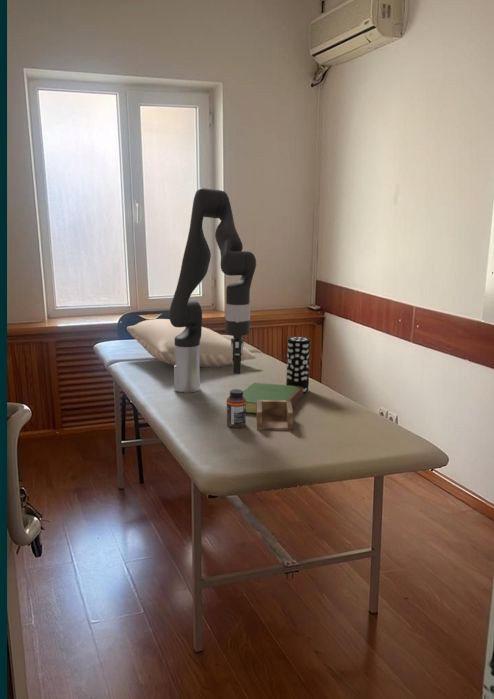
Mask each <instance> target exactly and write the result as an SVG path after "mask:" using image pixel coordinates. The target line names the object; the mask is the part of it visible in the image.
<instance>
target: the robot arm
mask: <svg viewBox="0 0 494 699" xmlns="http://www.w3.org/2000/svg"><path fill="white" fill-rule="evenodd" d="M191 209H192V210H191V215H190V224H189V229H188V230H189V231H188V236H187V240H186V244H185V248H184V253H183V256H182V260H181V265H180V272H179V276H178V280H177V284H176V287H175V288H176V289H175V292H174V293H173V298H172V301H171V304H170V308H169V314H168V315H169V316H168V317H169V319H170V322H171V324H172V325H173V326H174V327H185V330H184V331H183V332H182V333H180V334H179V335H177V336H176V337H175V365H173V382H174V383H173V390H174V392H179V393H183V392H184V393H185V394H187V393H195V392H196V393H197V392H198V391H200V389H201V383H200V380H201V377H200V376H201V373H200V372H201V371H200V370H201V369H200V368H201V367H200V339H201V332H202V327H203V310H202V306H201V304H200V303H199V302H198V301H197V300H190V298H191V295H192V294H193V292H194V291H195V290H196V288H198V286H199V285H200V284H201V283H202V281H203V280H204V279H205V277H206V275H207V274H208V270H209V266H210V263H211V262H210V261H211V258H212V257H211V255H212V254H211V249H210V247H209V243H208V241H207V240H206V237H205V235H204V230H203V221H204V219H205V218H210V219H219V220H220V222H219V223H218V225H217V226H216V229H215V236H214V237H215V241H216V244H217V246H218V249H219V253H220V263H219V264H220V269H221V270H220V271H221V272H222V273H223V274H224V275H226V276H229V277H230V276H231V277H234V276H240V279H239V280H238V281H236V282H232V283H229V284H228V285H227V286H226V288H225V289H226V290H225V293H226V295H225V296H226V297H225V299H226V300H225V303H226V304H225V310H224V311H225V312H224V314H225V316H224V320H225V322H224V323H225V324H224V333H225V334H226V335H228V336H233V338H231V339H230V340H231V347H232V351H231V353H232V355H233V358H232V361H233V364H232V365H233V366H232V367H233V368H232V369H233V370H232V372H233V374H234V375H240V374H241V366H242V362H243V361H242V359H241V355H243V348H244V344H245V339H244V338H243V337H242V336H247V335H249V334H250V333H251V307H250V297H251V296H250V293H251V292H250V291H251V286H252V281H253V278H254V276H255V271H256V267H257V260H256V256H255V255H254V253H252V252H251V251H248V250H247V251H244V250H243V243H242V240H241V237H240V235H239V233H238V231H237V229H236V225H235V220H234V216H233V210H232V207H231V202H230V198H229V196H228V193H227V192H226V191H224V190H221V189H216V188H215V189H213V188H207V187H199V188H198V189H197V190H196V191H195V194H194V197H193V202H192V207H191Z"/></svg>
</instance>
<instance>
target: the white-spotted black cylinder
mask: <svg viewBox="0 0 494 699" xmlns="http://www.w3.org/2000/svg"><path fill="white" fill-rule="evenodd" d="M286 349H287V351H286V383H285V385H289V386H302V387H303V395H307V394H308V393H309V386H310V385H309V384H310V382H309V381H310V362H311V361H310V360H311V359H310V357H311V338H310V337H307V336H290V337H287V348H286Z"/></svg>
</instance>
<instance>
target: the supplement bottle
mask: <svg viewBox="0 0 494 699" xmlns="http://www.w3.org/2000/svg"><path fill="white" fill-rule="evenodd" d="M243 391H244V390H242V389H240V388H239V389H238V388H236V389H235V388H233V389H231V390H229V396H228V397H227V398H226V425H227V426H228V427H230V428H236V429H238V428H239V429H240V428H243V427H245V426H246V423H247V422H246V419H247V417H246V415H247V413H246V399H245V397H243V396H242V395H243Z"/></svg>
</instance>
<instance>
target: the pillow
mask: <svg viewBox="0 0 494 699" xmlns="http://www.w3.org/2000/svg"><path fill="white" fill-rule="evenodd" d="M126 330H127V332H128V333H129V334H130V335H131V336H132V337H133V338H134V339H135V340H136V342H138V343H139V345H140V346H142V348H143V349H145V351H146V352H147V353H149V355H151V356H152V357H153V358H155V359H157V360H159V361H161V362H163V363H166V364H169V365H172V366H175V337H176V336H177V335H179V334H180V333H182V332H183V331H184V330H185V327H174V326H173V325H172V324H171V322H170V318H169V319H168V318H155V319H146V320H143V321H140V322H137V323H136V324H134V325H129V326H127V327H126ZM231 351H232V347H231V339H230V338H228V337H227V336H224V335H222V334H220V333H219V332H216V331H214V330H212V329H210V328H208V327H204V326H202V332H201V339H200V368H201V367H202V368H213V367H224V366H228V365H229V366H230V365H233V361H232V358H233V355H232V353H231ZM241 359H242V361H241V362H243V361H248V360H255V359H257V356H256V355H255V354H253V353H252V352H251V351H249V350H248V349H247V348H245V347H243V355H241Z"/></svg>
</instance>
